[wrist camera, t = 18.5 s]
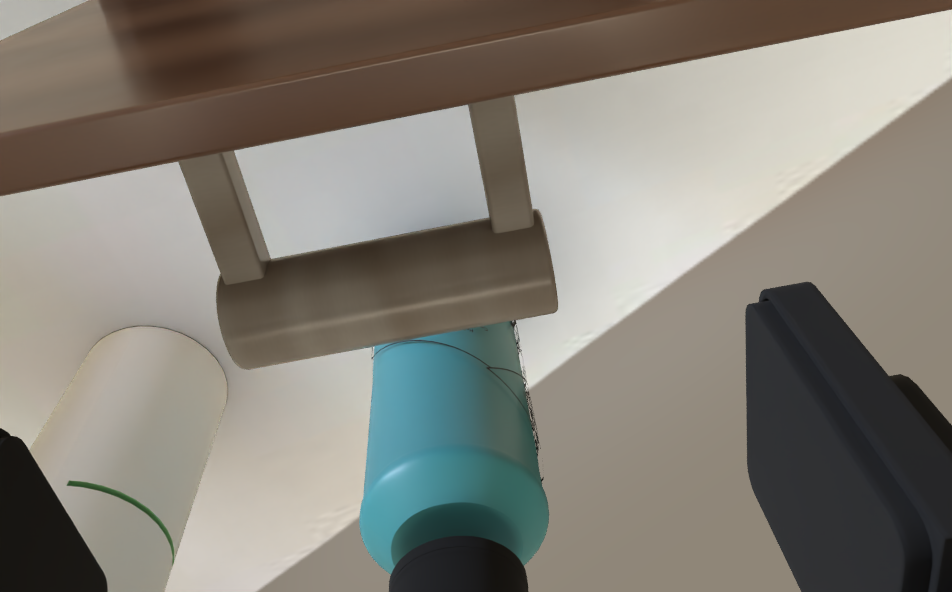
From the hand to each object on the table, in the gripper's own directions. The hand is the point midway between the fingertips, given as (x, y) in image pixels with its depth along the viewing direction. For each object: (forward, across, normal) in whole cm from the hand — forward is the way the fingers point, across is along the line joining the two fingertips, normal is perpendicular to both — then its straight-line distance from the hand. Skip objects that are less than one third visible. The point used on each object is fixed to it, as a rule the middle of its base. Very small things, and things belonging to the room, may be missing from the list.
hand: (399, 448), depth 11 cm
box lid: (+10, 0, -4) cm, 11 cm away
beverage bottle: (+27, +2, +13) cm, 30 cm away
